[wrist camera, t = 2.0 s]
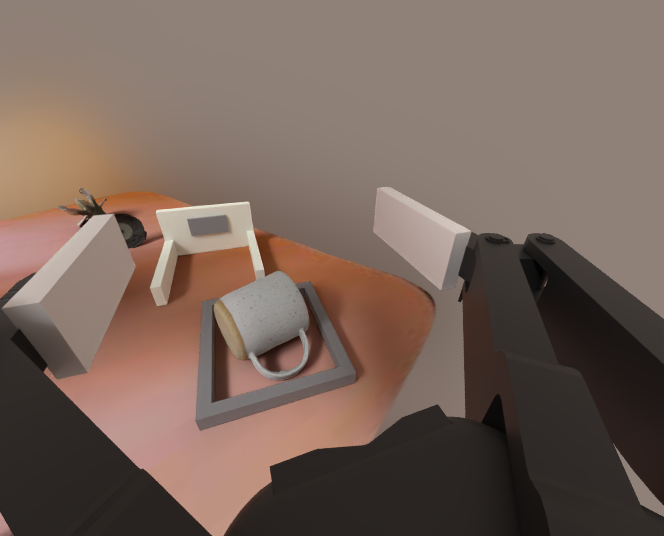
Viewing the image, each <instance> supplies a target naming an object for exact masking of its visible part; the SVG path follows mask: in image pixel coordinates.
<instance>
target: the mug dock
mask: <svg viewBox="0 0 664 536" xmlns="http://www.w3.org/2000/svg"><path fill="white" fill-rule="evenodd" d="M156 215H157V218H158V221H159V224H160V227H161V230H162V233H163V236H164V239H165V243H164V246H163V249H162V252H161V255H160V258H159V261H158V265H157V268H156V271H155V274H154V277H153V280H152V283H151V286H150V290H151V292H152V295H153V297H154V300H155V302H156V305H157V306H162V305H167V303H168V299H169V294H170V290H171V285H172V281H173V276H174V271H175V267H176V262H177V258H178V256H180V255H187V254H194V253H201V252H209V251H216V250H223V249H231V248H238V247H245V246H249V249H250V253H251V258H252V262H253V267H254V271H255V276H256V280H258V279H261V278H263V277H265V272H264V267H263V263H262V260H261V256H260V253H259V249H258V245H257V242H256V238H255V235H254V231H253V225H252V218H251V211H250V204H249V202H239V203H228V204H217V205H207V206H196V207H185V208H174V209H164V210H157V211H156Z"/></svg>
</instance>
